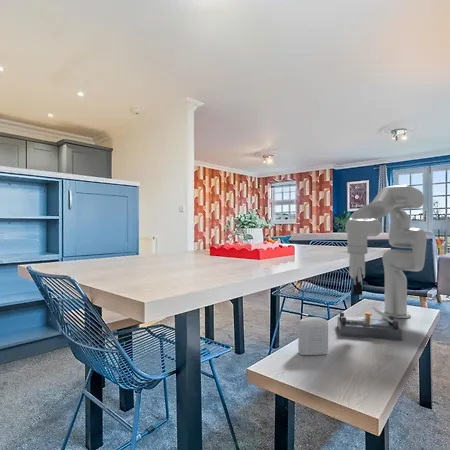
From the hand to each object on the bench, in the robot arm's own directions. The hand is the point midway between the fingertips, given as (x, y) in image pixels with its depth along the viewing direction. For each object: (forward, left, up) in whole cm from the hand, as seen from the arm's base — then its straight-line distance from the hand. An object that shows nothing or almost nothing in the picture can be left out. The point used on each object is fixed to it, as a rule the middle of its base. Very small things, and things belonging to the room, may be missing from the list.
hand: (357, 294), depth 128 cm
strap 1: (0, -2, -11) cm, 11 cm away
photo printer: (+26, -18, -16) cm, 36 cm away
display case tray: (0, +4, -15) cm, 16 cm away
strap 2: (0, +10, -9) cm, 13 cm away
